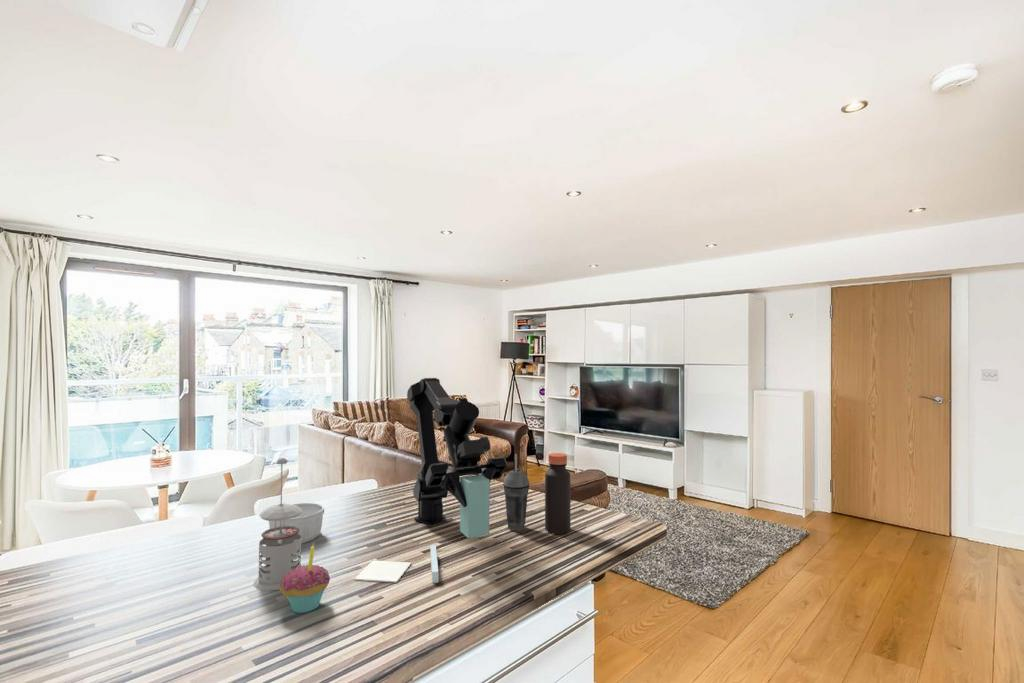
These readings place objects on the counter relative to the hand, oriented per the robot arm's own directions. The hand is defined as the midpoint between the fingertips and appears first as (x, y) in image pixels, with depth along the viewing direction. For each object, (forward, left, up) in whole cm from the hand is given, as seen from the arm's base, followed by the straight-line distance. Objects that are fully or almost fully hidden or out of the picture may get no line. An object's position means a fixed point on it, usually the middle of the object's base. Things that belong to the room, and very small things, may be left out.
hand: (476, 504), depth 107 cm
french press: (-31, -27, -14) cm, 43 cm away
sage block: (-1, +1, -7) cm, 7 cm away
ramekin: (-49, -12, -14) cm, 52 cm away
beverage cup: (-6, +25, -14) cm, 29 cm away
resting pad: (-15, -13, -13) cm, 24 cm away
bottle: (+4, +30, -14) cm, 33 cm away
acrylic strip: (-7, -6, -13) cm, 16 cm away
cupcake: (-16, -31, -14) cm, 38 cm away
